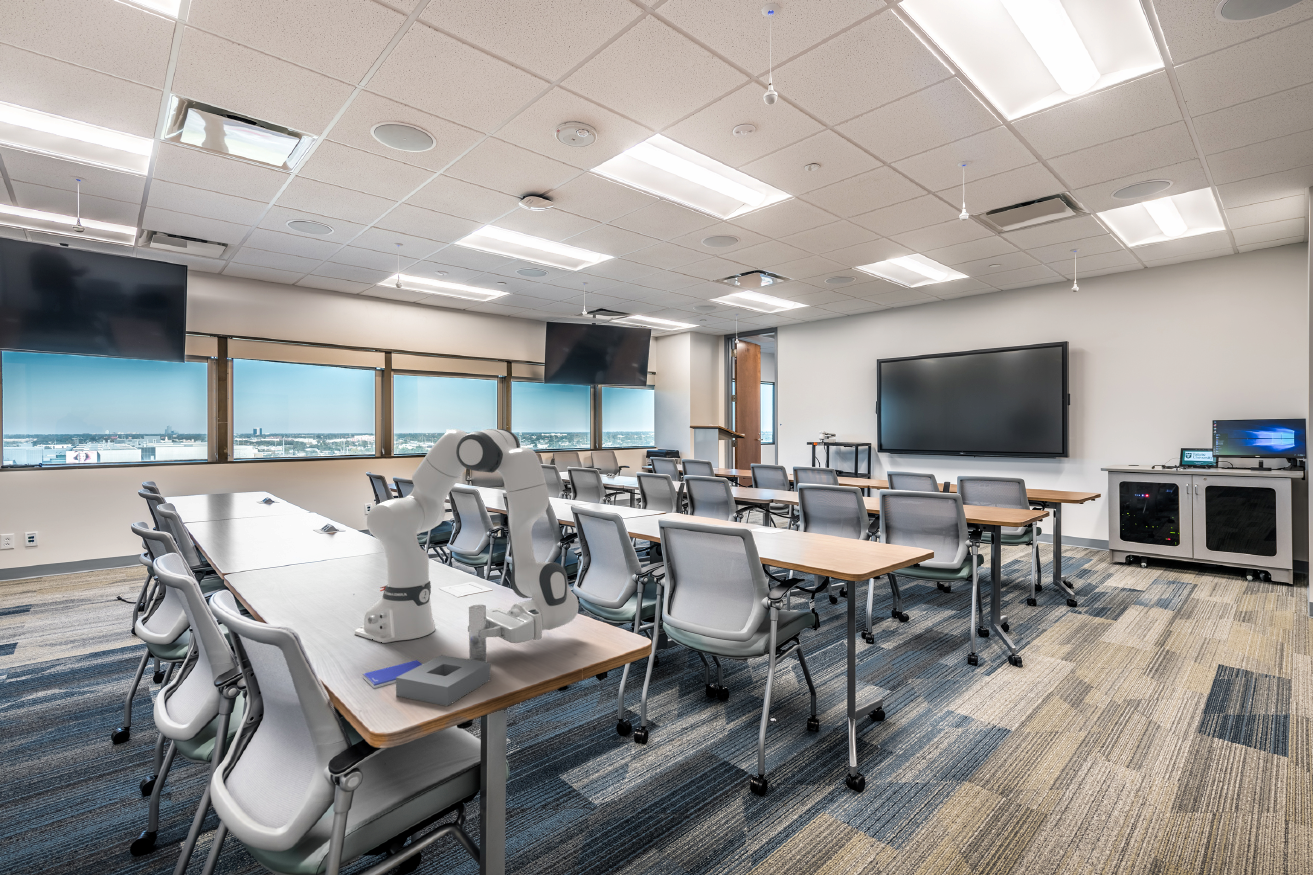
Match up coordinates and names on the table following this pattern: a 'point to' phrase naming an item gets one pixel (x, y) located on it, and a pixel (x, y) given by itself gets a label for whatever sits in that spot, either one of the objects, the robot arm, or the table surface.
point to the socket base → (442, 679)
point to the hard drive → (389, 674)
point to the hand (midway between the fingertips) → (474, 631)
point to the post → (475, 624)
